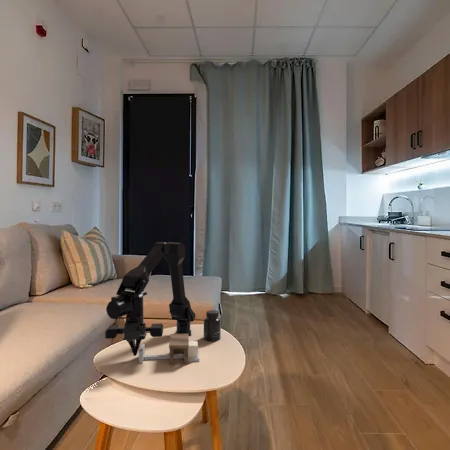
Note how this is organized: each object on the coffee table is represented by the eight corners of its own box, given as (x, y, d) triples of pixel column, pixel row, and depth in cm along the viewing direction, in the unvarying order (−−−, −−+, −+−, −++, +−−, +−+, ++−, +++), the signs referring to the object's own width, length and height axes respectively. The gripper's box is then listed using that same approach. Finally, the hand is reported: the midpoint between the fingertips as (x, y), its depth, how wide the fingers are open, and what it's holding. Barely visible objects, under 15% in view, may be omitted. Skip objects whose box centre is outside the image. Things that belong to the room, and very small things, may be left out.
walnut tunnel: (170, 352, 127) (170, 333, 126) (188, 351, 127) (188, 333, 127) (169, 365, 116) (169, 345, 116) (188, 365, 117) (188, 345, 116)
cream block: (186, 352, 124) (186, 341, 124) (197, 352, 124) (197, 341, 124) (186, 357, 120) (186, 346, 120) (197, 357, 120) (197, 345, 120)
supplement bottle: (218, 345, 136) (218, 315, 135) (201, 344, 137) (201, 313, 137) (222, 338, 143) (222, 309, 142) (206, 337, 144) (206, 308, 143)
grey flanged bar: (141, 354, 124) (141, 343, 124) (198, 352, 126) (198, 341, 126) (138, 363, 117) (138, 352, 117) (199, 361, 119) (199, 349, 119)
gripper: (100, 318, 111) (101, 367, 111) (160, 317, 112) (160, 364, 113) (108, 308, 122) (109, 352, 122) (163, 307, 123) (163, 350, 124)
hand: (135, 355), depth 120 cm, fingers closed
